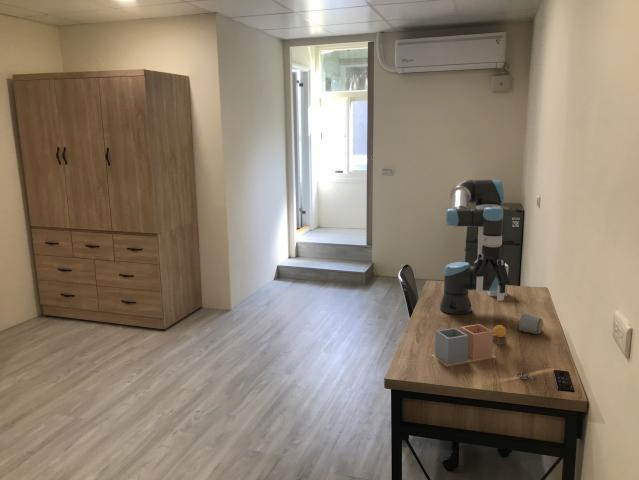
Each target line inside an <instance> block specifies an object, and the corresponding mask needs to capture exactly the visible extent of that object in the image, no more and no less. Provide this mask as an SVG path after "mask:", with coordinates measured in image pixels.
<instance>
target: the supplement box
mask: <svg viewBox="0 0 639 480" xmlns="http://www.w3.org/2000/svg"><path fill="white" fill-rule="evenodd" d="M505 267H506V271H507V275H508V276H509V269H510V268H509V265H508V264H507V263H506V262H505ZM501 282H502V281H501ZM508 285H509V284H507V285H505V293H504V297H507V296H508ZM497 291H498V290H497ZM497 291H485V292H486V293H487V295H488V296H489V297H497Z"/></svg>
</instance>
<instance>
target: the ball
mask: <svg viewBox="0 0 639 480" xmlns="http://www.w3.org/2000/svg"><path fill="white" fill-rule="evenodd" d="M492 331H493V335H495V336H496V337H499V338H500V337H503V336H504V337H506V333H507V329H506V327H504V325H502V324H497V325H495V326H494V327H493V329H492Z"/></svg>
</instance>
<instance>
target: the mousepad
mask: <svg viewBox="0 0 639 480" xmlns="http://www.w3.org/2000/svg"><path fill="white" fill-rule="evenodd" d="M518 374H519V375H520V376H519V375H518V376H519V379H520V380H523V379H524V380H523V381H526V380H528V377H527V376H529V377H531V378H530V380H531V379H534V380H535V379H536V377H535V376H534V375H533V376H532V375H529V374H526V373H524V372H522V373H518ZM521 374H522V375H521Z"/></svg>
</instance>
